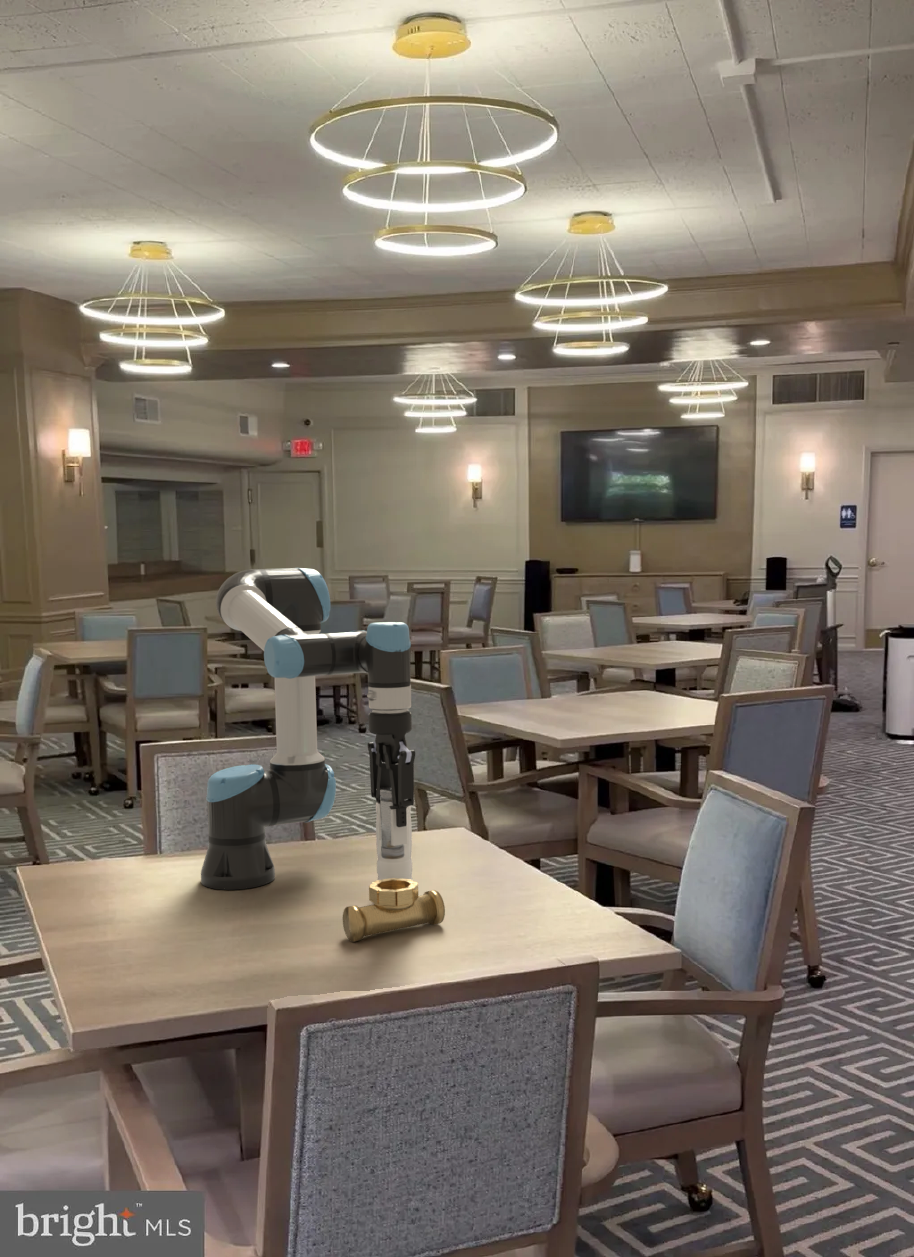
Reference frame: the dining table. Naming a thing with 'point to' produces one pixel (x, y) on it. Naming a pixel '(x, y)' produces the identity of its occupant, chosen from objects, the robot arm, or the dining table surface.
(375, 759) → the robot arm
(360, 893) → the dining table surface
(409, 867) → the water bottle
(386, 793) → the metal cylinder
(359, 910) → the tee fitting
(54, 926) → the dining table surface
